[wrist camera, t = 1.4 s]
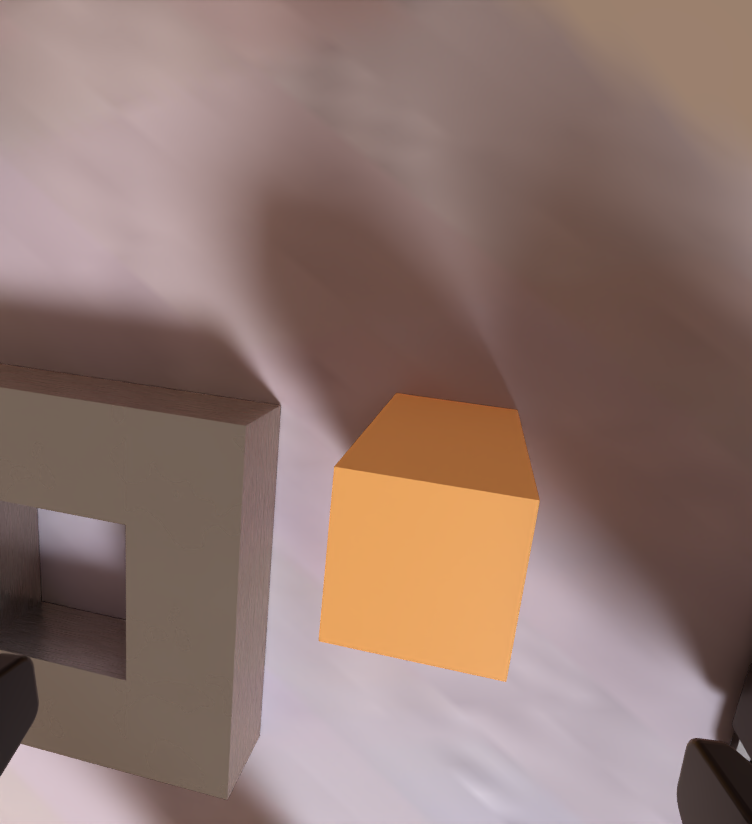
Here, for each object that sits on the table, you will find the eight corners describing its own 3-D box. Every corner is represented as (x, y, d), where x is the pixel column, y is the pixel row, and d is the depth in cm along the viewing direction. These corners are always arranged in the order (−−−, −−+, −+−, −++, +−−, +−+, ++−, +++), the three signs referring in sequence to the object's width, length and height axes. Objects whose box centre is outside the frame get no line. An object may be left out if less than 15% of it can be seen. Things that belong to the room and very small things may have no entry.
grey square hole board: (281, 405, 20) (245, 425, 17) (259, 735, 23) (227, 799, 20) (-59, 354, 22) (-141, 365, 19) (-34, 662, 25) (-101, 710, 22)
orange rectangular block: (517, 409, 18) (540, 500, 11) (498, 523, 19) (505, 681, 11) (396, 393, 19) (333, 466, 11) (383, 503, 20) (318, 640, 12)
